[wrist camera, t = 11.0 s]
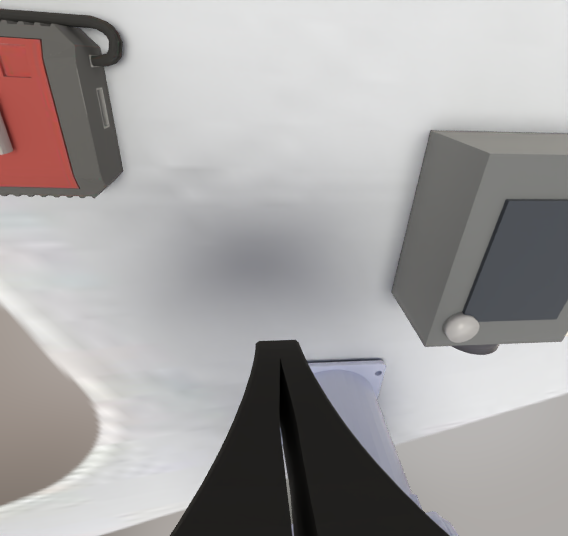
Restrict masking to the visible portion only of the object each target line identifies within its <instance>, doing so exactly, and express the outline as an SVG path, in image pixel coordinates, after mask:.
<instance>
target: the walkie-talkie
mask: <svg viewBox="0 0 568 536" xmlns="http://www.w3.org/2000/svg"><path fill="white" fill-rule="evenodd" d="M69 26H72V27H69ZM74 27H86V28H93V29H97V30H99V31H101V32H103V33H104V34H105V35H106V36H107V38H108V40H109V50H108V52H107V54H103V55H101V50H100V47H99V46H98V45H97V44H96V43H95V42H94V41H93V40H91V39H90V38H89V37H88V36H87V35H86V34H85V33H84V32H83V31H82V30H81V29H80V28H74ZM121 55H122V40H121V37H120V35H119V33H118V32H117V30H116V29H115V28H114V27H113V26H112V25H111V24H109V23H108V22H106V21H104V20H101V19H98V18H96V17H92V16H88V15H75V14H61V13H48V12H34V11H21V10H8V9H0V195H2V196H7V195H9V194H13V195H15V196H21V195H28V196H29V197H33V196H34V195H40V196H42V197H46V196H48V195H53V196H54V197H60V196H67V197H68V198H71V197H73V196H79V197H80V198H85V197H86V196H92V197H93V198H95V197H96V196H98V195H99V194H100V193H101V192H102V191H103V190H104V189H105V188H107V187H108V186H109V185H110V184H111V183H112V182H113V181H114V180H115V179H116V178H117V177H118V176H119V175H120V174H121V173H122V172H123V167H122V162H121V157H120V151H119V146H118V141H117V135H116V130H115V125H114V119H113V114H112V108H111V103H110V98H109V92H108V87H107V82H106V76H105V71H104V66H110V65H113V64H116V63H117V62H118V61H119V59H120V58H121Z"/></svg>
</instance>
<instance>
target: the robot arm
mask: <svg viewBox="0 0 568 536" xmlns="http://www.w3.org/2000/svg"><path fill="white" fill-rule="evenodd" d="M385 370H386V365H385V363H384V361H382V360H372V361H348V362H324V363H307V361H306V359H305V357H304V354H303V352H302V350H301V347H300V345H299V342H297V341H296V340H279V341H259V342H258V343H256V350H255V357H254V362H253V366H252V370H251V374H250V377H249V380H248V383H247V387H246V390H245V393H244V396H243V398H242V401H241V404H240V406H239V409H238V411H237V414H236V416H235V419H234V421H233V423H232V426H231V428H230V430H229V432H228V435H227V437H226V439H225V441H224V443H223V445H222V447H221V449H220V451H219V453H218V455H217V457H216V459H215V461H214V463H213V464H212V466H211V468H210V470H209V472H208V474H207V476H206V477H205V479H204V481H203V483H202V485H201V486H200V488H199V490H198V491H197V493H196V495H195V496H194V498H193V500H192V501H191V503H190V504H189V506H188V508H187V509H186V511H185V513H184V514H183V516H182V518H181V519H180V521H179V522H178V524H177V525H176V527H175V529H174V530H173V532H172V533H171V535H170V536H459V535H458V534H457V532H456V530H455V528H454V527H453V525H452V524H451V523H450V522H449V521H447V520H446V519H444V518H443V517H441V516H440V515H439V514H438V513H437V512H435V511H432V512H428V513H425V512H424V511H423V510H422V508H421V505H420V503H419V500H418V497H417V495H416V494H412V492H411V489H410V486H409V484H408V481H407V479H406V476H405V473H404V471H403V468H402V465H401V463H400V460H399V457H398V454H397V452H396V449H395V446H394V444H393V441H392V438H391V436H390V433H389V430H388V428H387V425H386V422H385V420H384V417H383V414H382V412H381V409H380V406H379V404H378V401H377V399H378V395H379V392H380V388H381V384H382V381H383V377H384V373H385ZM282 445H283V448H284V454H285V460H286V467H287V473H288V479H289V486H290V494H291V506H292V518H293V524H291V519H290V511H289V503H288V495H287V487H286V478H285V469H284V460H283V451H282Z"/></svg>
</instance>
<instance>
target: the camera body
mask: <svg viewBox="0 0 568 536" xmlns="http://www.w3.org/2000/svg"><path fill="white" fill-rule="evenodd" d="M392 294H393V295H394V297H395V299H396V300H397V302H398V304H399V305H400V307H401V309H402V310H403V312H404V313H405V315H406V317H407V318H408V320H409V322H410V323H411V325H412V327H413V328H414V330H415V331H416V333H417V335H418V336H419V338H420V340H421V341H422V343H423V345H424V346H425V347H433V346H452V347H454V348H456V349H458V350H461V351H464V352H467V353H471V354H477V355H485V354H490V353H493V352H494V351H496V350H497V348H498V346H499V344H512V343H538V342H562V340H563V338H564V337H565V336H568V133H523V132H479V131H435V130H431V132H430V136H429V140H428V144H427V148H426V152H425V156H424V161H423V165H422V169H421V173H420V177H419V181H418V185H417V189H416V194H415V198H414V202H413V206H412V210H411V214H410V218H409V222H408V227H407V231H406V235H405V239H404V243H403V247H402V251H401V255H400V260H399V264H398V268H397V272H396V276H395V280H394V284H393V288H392Z"/></svg>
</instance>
